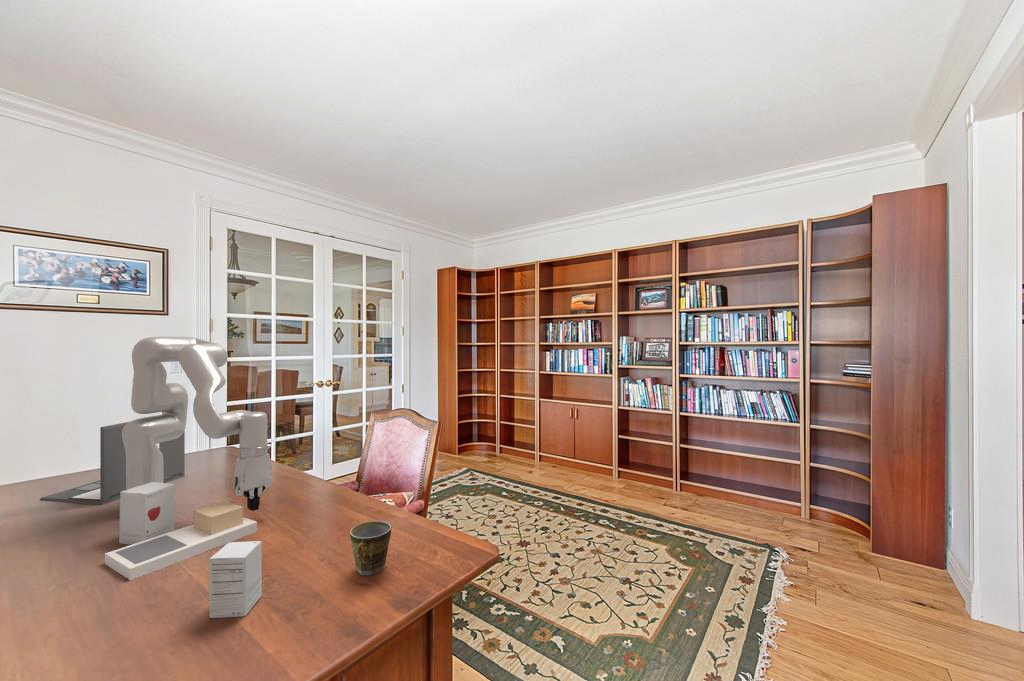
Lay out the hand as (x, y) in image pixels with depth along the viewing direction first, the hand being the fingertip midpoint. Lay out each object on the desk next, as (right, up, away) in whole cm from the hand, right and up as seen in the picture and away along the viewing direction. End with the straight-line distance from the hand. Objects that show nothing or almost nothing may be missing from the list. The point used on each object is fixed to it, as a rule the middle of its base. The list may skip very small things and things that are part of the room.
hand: (253, 509), depth 134 cm
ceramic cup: (+46, -4, -28) cm, 54 cm away
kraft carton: (-5, -1, -9) cm, 10 cm away
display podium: (-9, -4, -16) cm, 19 cm away
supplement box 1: (-24, -4, -11) cm, 27 cm away
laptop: (-71, -5, +30) cm, 77 cm away
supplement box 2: (+22, -4, -42) cm, 48 cm away
